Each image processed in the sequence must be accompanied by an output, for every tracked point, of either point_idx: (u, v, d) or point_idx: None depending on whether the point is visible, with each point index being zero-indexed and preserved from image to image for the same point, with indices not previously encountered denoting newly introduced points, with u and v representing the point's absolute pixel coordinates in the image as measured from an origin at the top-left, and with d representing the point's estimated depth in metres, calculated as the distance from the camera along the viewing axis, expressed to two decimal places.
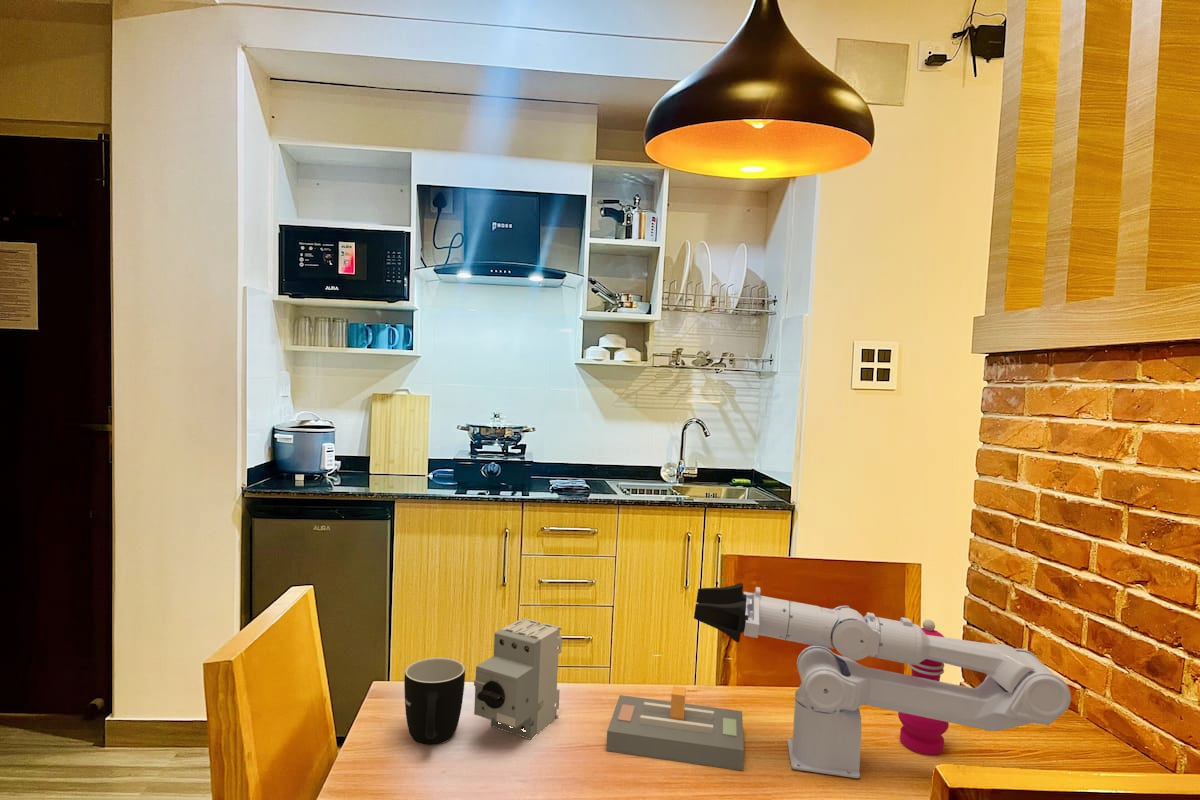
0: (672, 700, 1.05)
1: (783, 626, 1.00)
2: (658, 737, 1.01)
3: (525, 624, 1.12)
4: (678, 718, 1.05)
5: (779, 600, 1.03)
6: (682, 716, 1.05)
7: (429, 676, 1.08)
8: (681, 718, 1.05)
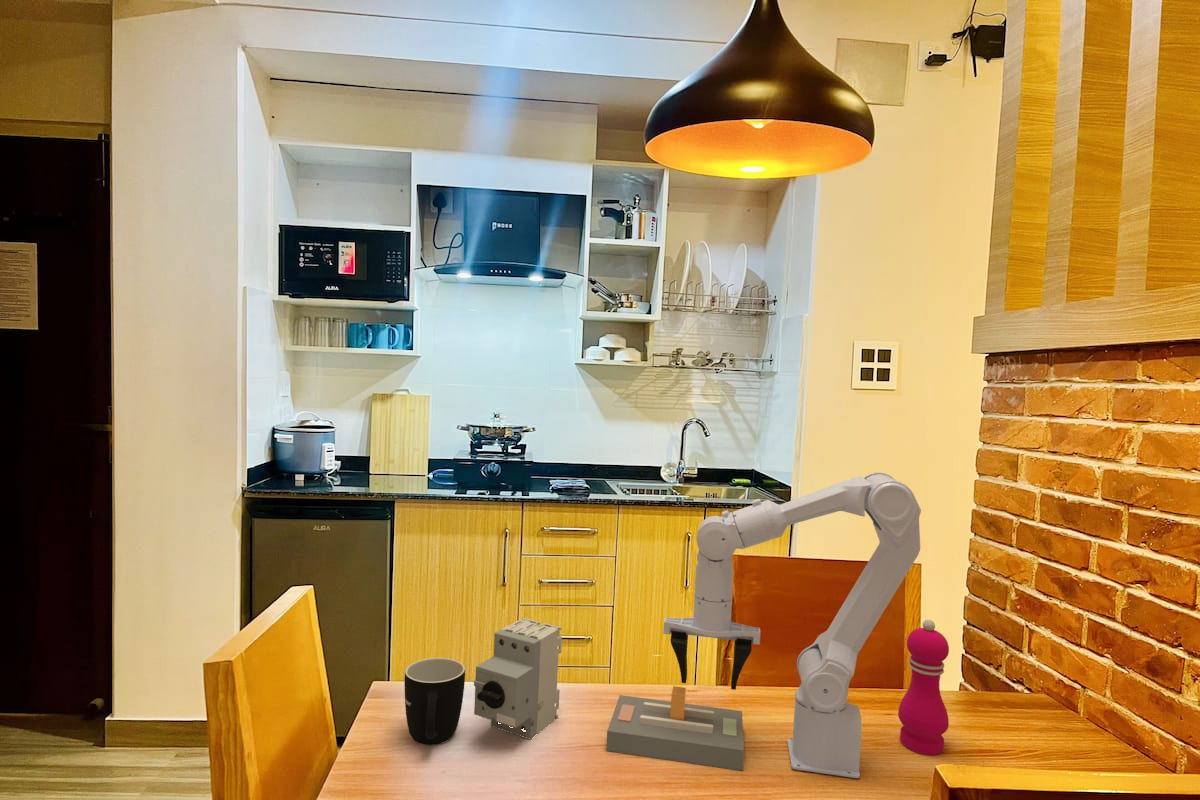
0: (672, 700, 1.05)
1: (694, 598, 1.05)
2: (658, 737, 1.01)
3: (525, 624, 1.12)
4: (678, 718, 1.05)
5: None
6: (682, 716, 1.05)
7: (429, 676, 1.08)
8: (681, 718, 1.05)
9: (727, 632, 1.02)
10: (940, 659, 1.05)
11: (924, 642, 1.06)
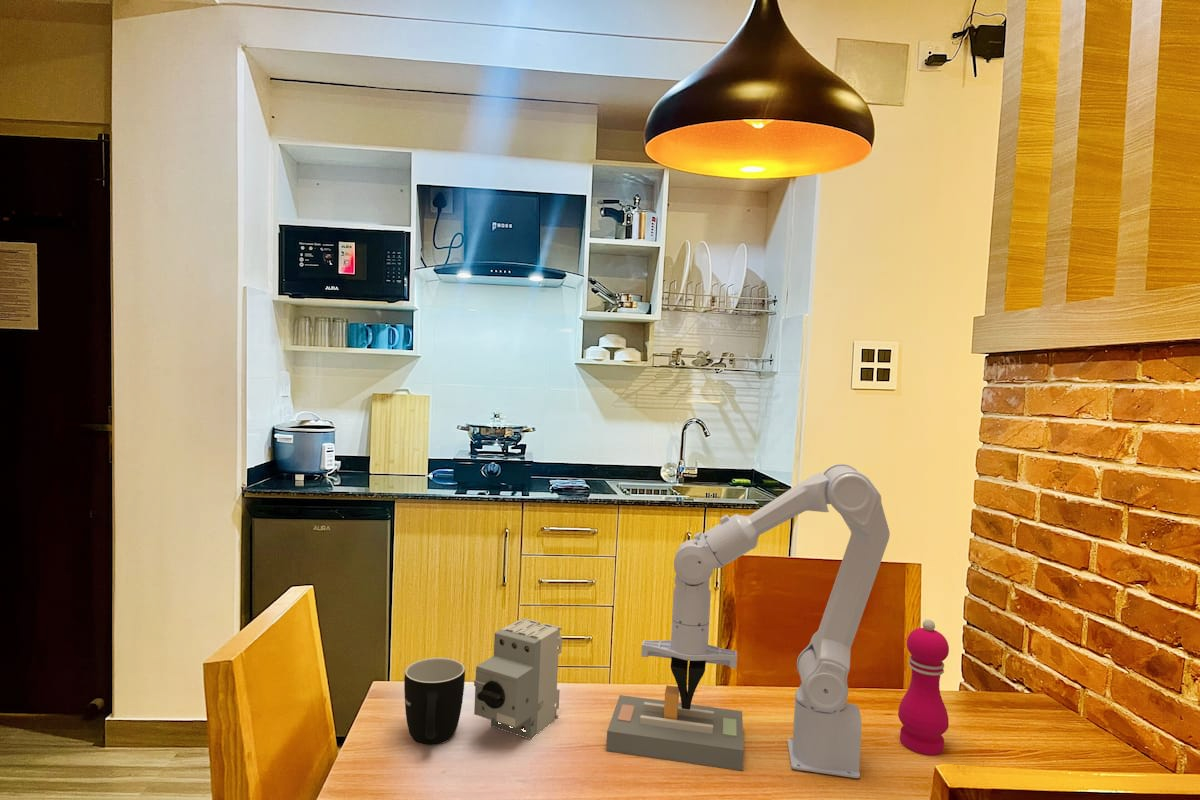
0: (666, 699, 1.05)
1: None
2: (658, 737, 1.01)
3: (525, 624, 1.12)
4: (671, 717, 1.05)
5: None
6: (675, 715, 1.05)
7: (429, 676, 1.08)
8: (674, 717, 1.05)
9: (704, 656, 1.03)
10: (940, 659, 1.05)
11: (924, 642, 1.06)
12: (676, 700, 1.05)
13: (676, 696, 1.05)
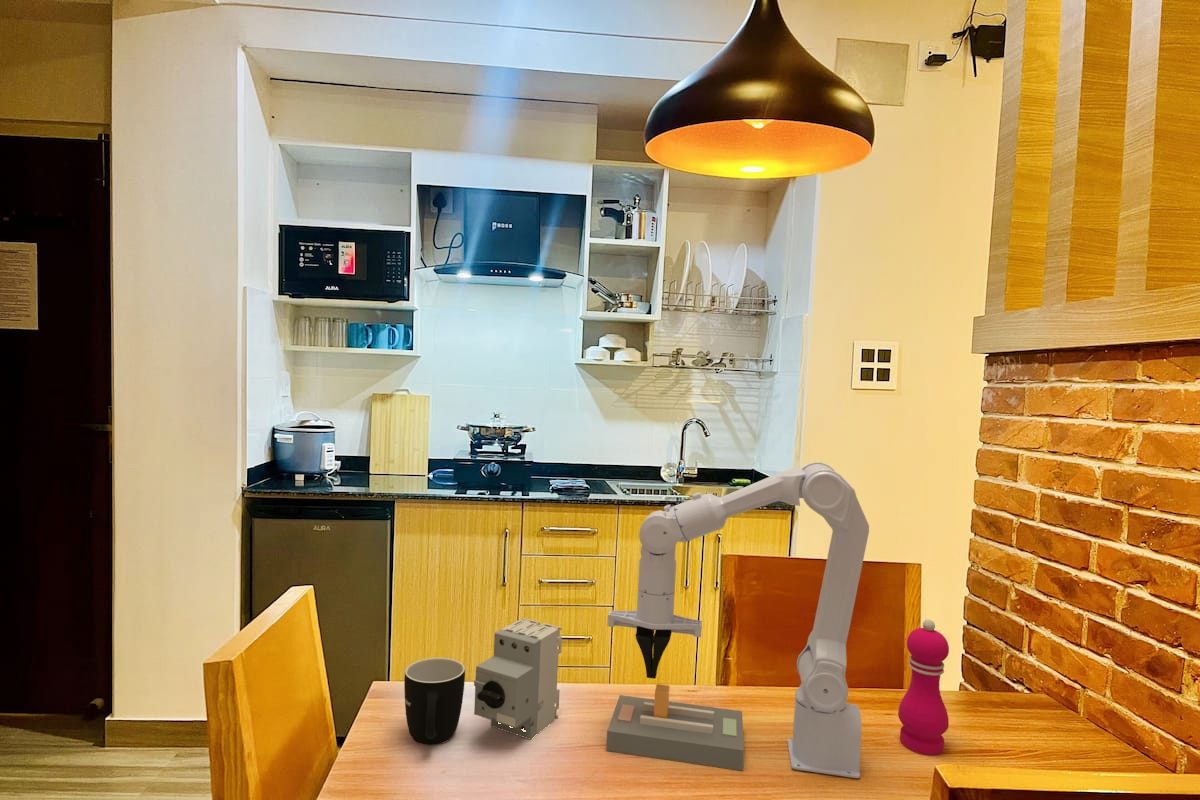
0: (656, 698, 1.05)
1: None
2: (658, 737, 1.01)
3: (525, 624, 1.12)
4: (661, 716, 1.05)
5: None
6: (665, 714, 1.05)
7: (429, 676, 1.08)
8: (664, 716, 1.05)
9: (668, 625, 1.04)
10: (940, 659, 1.05)
11: (924, 642, 1.06)
12: (666, 699, 1.05)
13: (666, 695, 1.05)
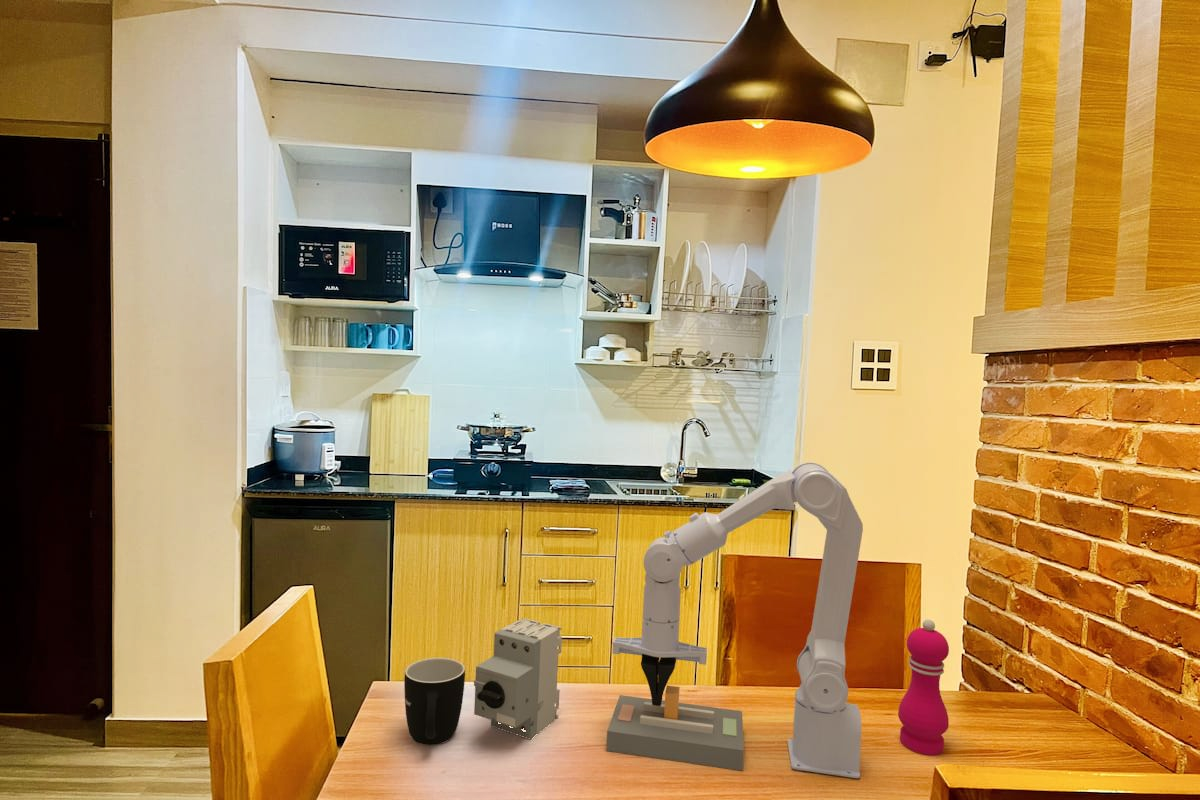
0: (666, 699, 1.05)
1: None
2: (658, 737, 1.01)
3: (525, 624, 1.12)
4: (672, 717, 1.05)
5: None
6: (676, 715, 1.05)
7: (429, 676, 1.08)
8: (675, 717, 1.05)
9: (673, 652, 1.04)
10: (940, 659, 1.05)
11: (924, 642, 1.06)
12: (676, 700, 1.05)
13: (676, 696, 1.05)
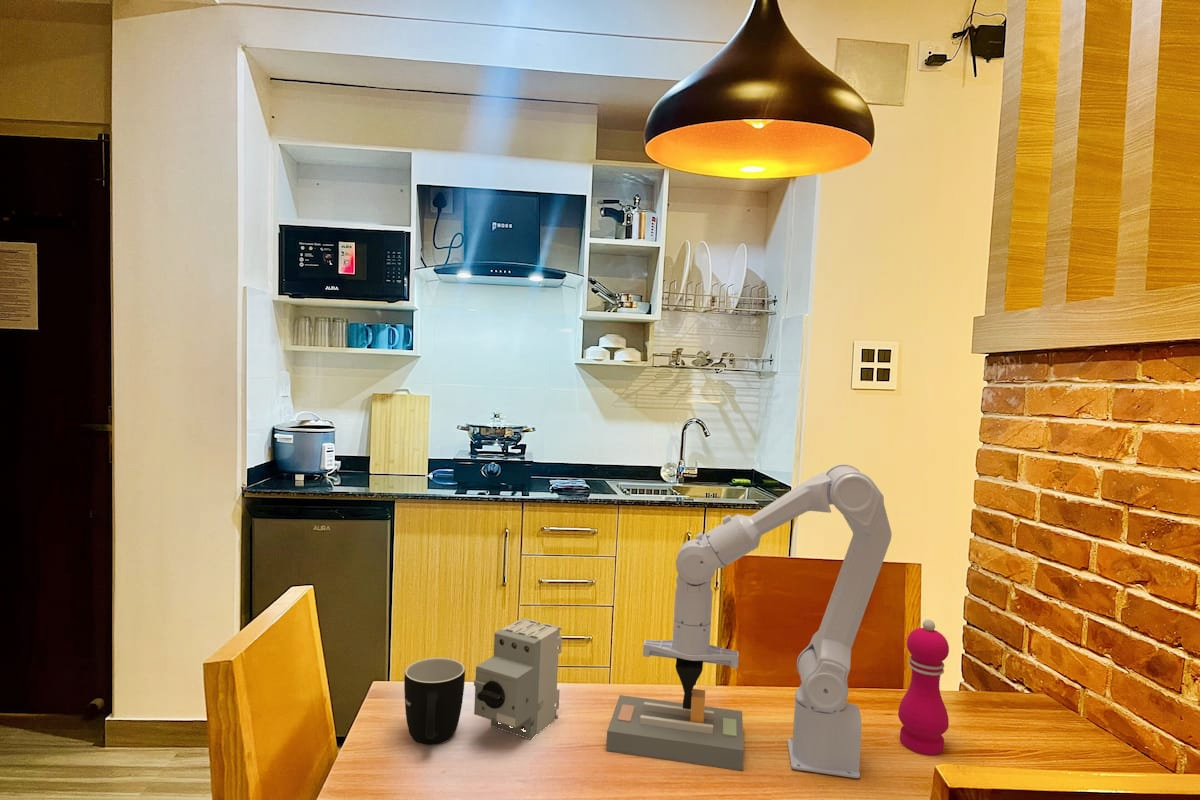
0: (692, 702, 1.04)
1: None
2: (658, 737, 1.01)
3: (525, 624, 1.12)
4: (698, 721, 1.04)
5: None
6: (702, 719, 1.04)
7: (429, 676, 1.08)
8: (701, 721, 1.04)
9: (705, 656, 1.03)
10: (940, 659, 1.05)
11: (924, 642, 1.06)
12: (703, 703, 1.04)
13: (703, 699, 1.04)
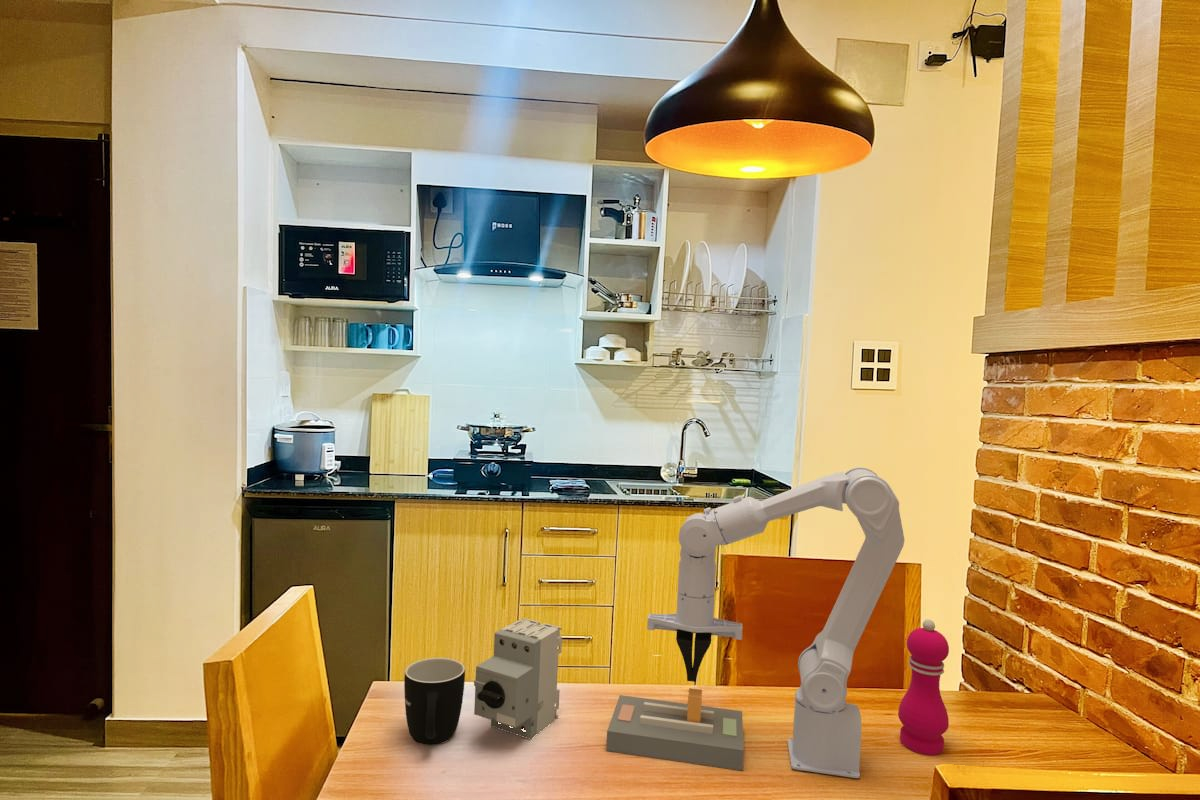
0: (689, 702, 1.04)
1: None
2: (658, 737, 1.01)
3: (525, 624, 1.12)
4: (695, 720, 1.04)
5: None
6: (699, 718, 1.04)
7: (429, 676, 1.08)
8: (698, 720, 1.04)
9: (710, 628, 1.04)
10: (940, 659, 1.05)
11: (924, 642, 1.06)
12: (700, 703, 1.04)
13: (700, 699, 1.04)
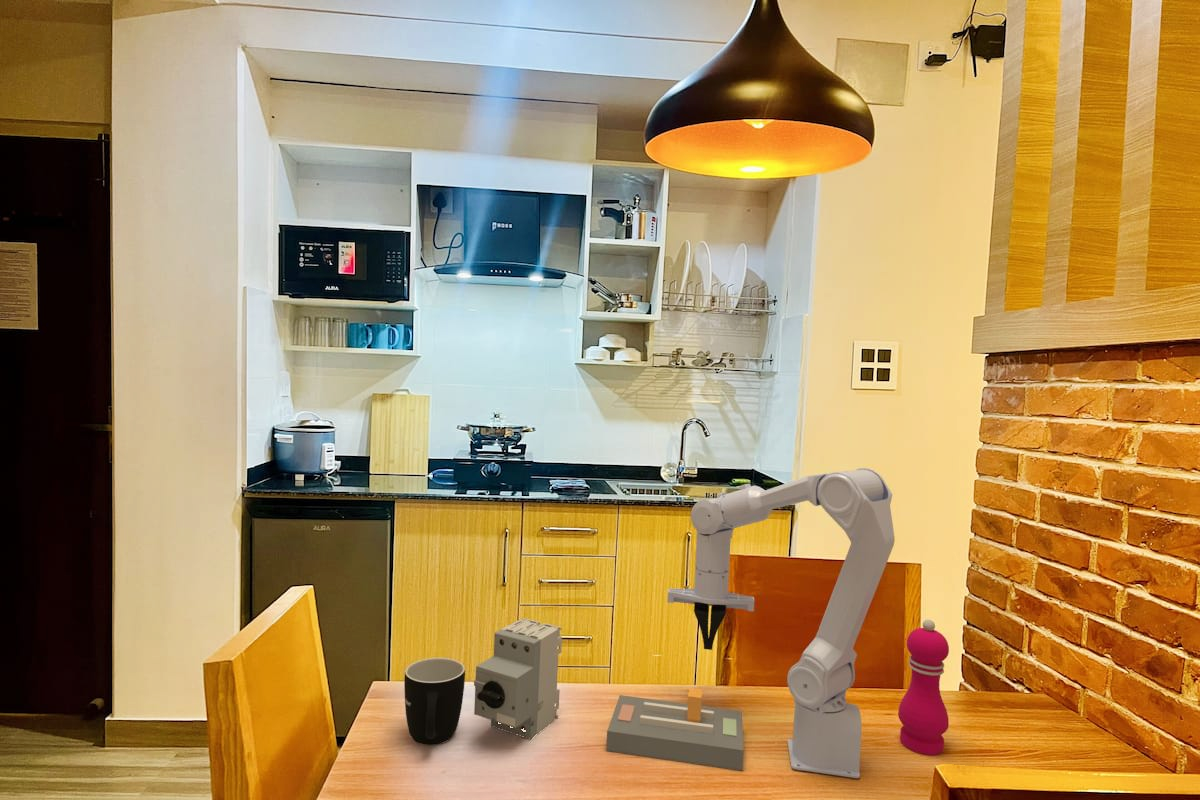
0: (689, 702, 1.04)
1: (695, 570, 1.17)
2: (658, 737, 1.01)
3: (525, 624, 1.12)
4: (695, 720, 1.04)
5: None
6: (699, 718, 1.04)
7: (429, 676, 1.08)
8: (698, 720, 1.04)
9: (724, 600, 1.14)
10: (940, 659, 1.05)
11: (924, 642, 1.06)
12: (700, 703, 1.04)
13: (700, 699, 1.04)
